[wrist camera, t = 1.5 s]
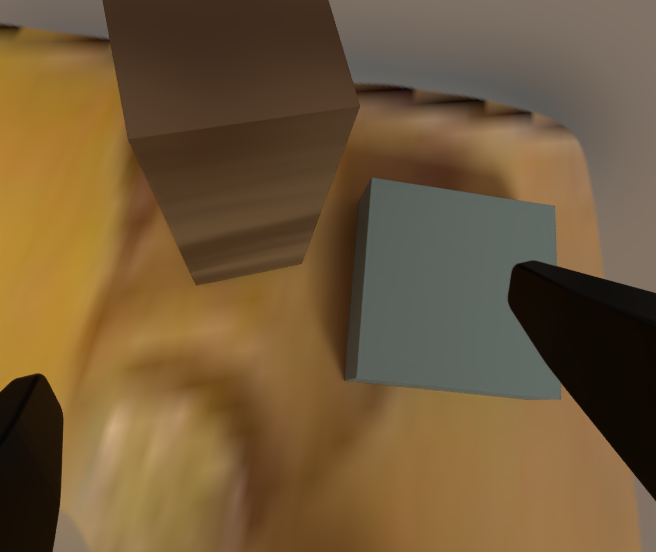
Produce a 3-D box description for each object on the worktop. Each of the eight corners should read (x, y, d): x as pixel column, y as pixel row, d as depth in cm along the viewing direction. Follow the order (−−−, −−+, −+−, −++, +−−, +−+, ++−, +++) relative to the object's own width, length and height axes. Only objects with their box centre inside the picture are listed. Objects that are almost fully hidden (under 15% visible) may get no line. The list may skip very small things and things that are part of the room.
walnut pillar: (301, 263, 23) (359, 106, 11) (196, 285, 22) (128, 138, 10) (278, 169, 24) (306, -73, 12) (176, 186, 23) (91, -60, 11)
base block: (523, 399, 24) (560, 399, 21) (343, 380, 23) (356, 378, 20) (521, 227, 26) (554, 205, 23) (357, 203, 25) (371, 177, 22)
